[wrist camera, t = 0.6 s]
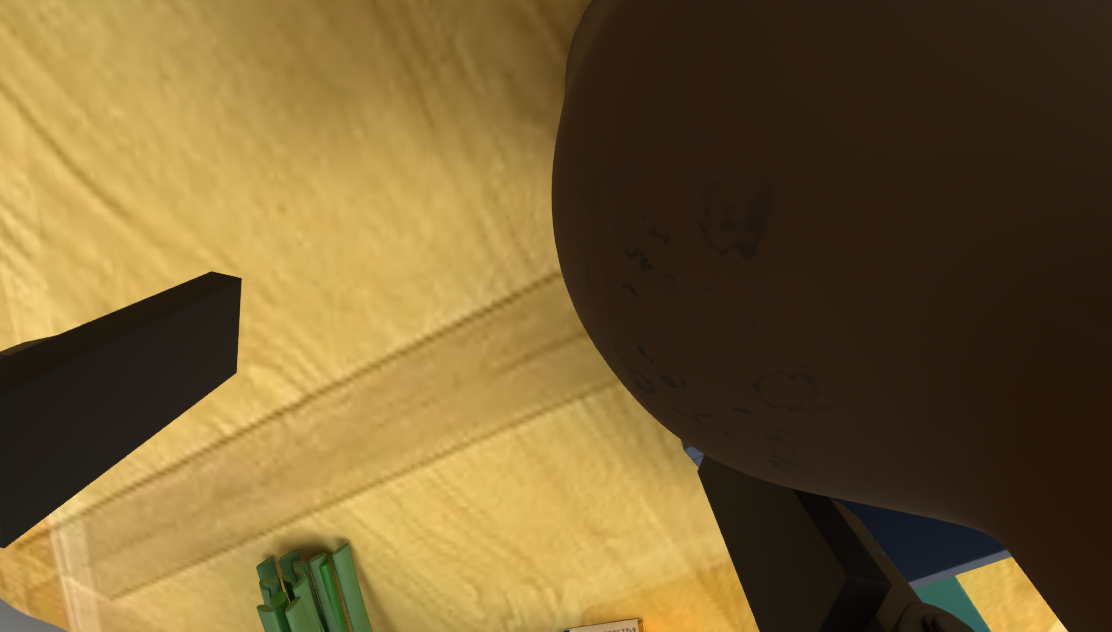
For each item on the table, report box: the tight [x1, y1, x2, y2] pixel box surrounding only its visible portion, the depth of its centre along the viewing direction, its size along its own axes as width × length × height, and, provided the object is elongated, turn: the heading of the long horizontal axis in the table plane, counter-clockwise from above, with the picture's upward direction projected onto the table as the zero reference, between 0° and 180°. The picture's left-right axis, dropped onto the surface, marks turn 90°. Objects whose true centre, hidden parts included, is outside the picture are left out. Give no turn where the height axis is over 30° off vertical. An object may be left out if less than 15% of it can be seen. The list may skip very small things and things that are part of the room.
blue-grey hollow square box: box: [681, 439, 1012, 589], centre depth 28 cm, size 17×17×9 cm
